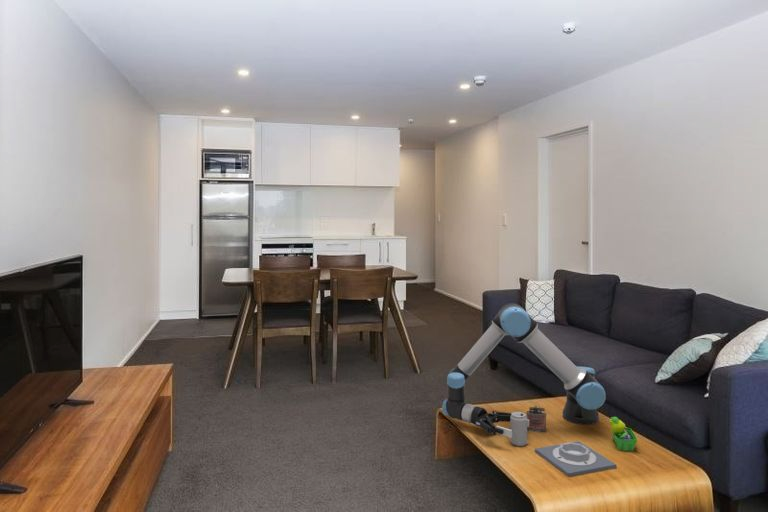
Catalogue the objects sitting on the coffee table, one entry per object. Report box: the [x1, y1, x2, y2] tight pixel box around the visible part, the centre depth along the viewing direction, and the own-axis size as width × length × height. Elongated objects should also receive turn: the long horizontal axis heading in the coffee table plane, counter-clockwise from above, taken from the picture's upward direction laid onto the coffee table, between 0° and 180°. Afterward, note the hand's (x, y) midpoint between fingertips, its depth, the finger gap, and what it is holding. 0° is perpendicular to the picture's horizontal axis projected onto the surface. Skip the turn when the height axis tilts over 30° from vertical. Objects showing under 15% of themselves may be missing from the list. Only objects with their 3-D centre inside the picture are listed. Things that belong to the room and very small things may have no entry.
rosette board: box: [534, 441, 617, 477], centre depth 178 cm, size 20×20×4 cm
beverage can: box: [510, 411, 528, 447], centre depth 192 cm, size 6×6×12 cm
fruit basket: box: [609, 416, 638, 452], centre depth 189 cm, size 11×9×11 cm
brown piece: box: [526, 405, 547, 433], centre depth 205 cm, size 8×3×10 cm, turn 68°
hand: (520, 428), depth 191 cm, fingers open, 13 cm apart
